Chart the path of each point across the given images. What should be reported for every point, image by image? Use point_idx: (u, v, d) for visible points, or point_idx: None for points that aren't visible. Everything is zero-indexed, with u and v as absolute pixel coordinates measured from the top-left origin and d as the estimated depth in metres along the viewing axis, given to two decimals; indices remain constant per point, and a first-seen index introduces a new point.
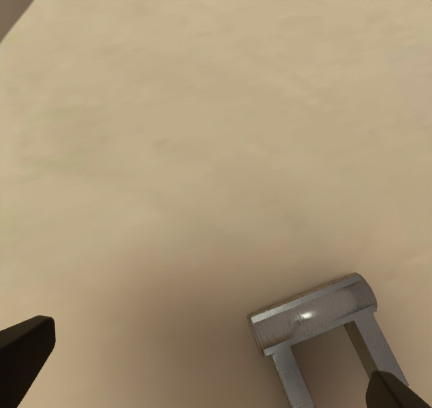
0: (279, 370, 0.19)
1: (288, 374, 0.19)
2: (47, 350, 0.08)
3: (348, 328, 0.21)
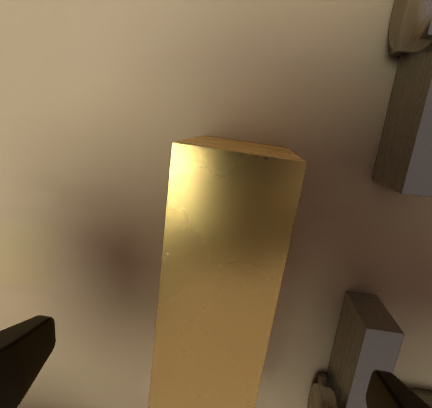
0: None
1: None
2: (47, 350, 0.08)
3: None
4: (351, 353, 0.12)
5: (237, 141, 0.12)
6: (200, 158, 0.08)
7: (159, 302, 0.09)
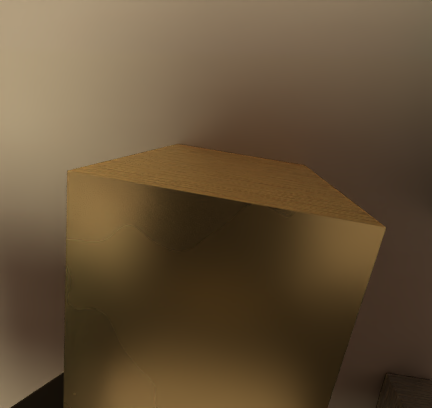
0: None
1: None
2: None
3: None
4: None
5: (228, 154, 0.07)
6: (132, 208, 0.03)
7: None
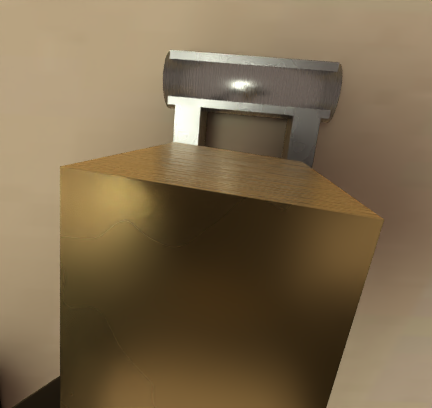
0: (175, 125, 0.15)
1: (183, 134, 0.15)
2: None
3: (286, 130, 0.17)
4: None
5: (225, 152, 0.07)
6: (126, 204, 0.03)
7: None
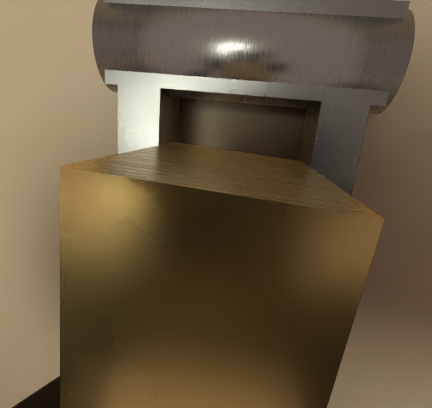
0: (120, 121, 0.09)
1: (133, 135, 0.09)
2: None
3: (304, 128, 0.10)
4: None
5: (225, 152, 0.07)
6: (127, 203, 0.03)
7: None
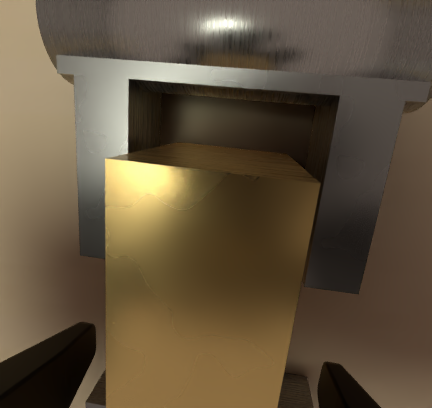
0: (78, 121, 0.07)
1: (95, 140, 0.07)
2: (89, 357, 0.08)
3: (314, 130, 0.08)
4: None
5: (221, 148, 0.09)
6: (150, 182, 0.05)
7: (107, 390, 0.06)
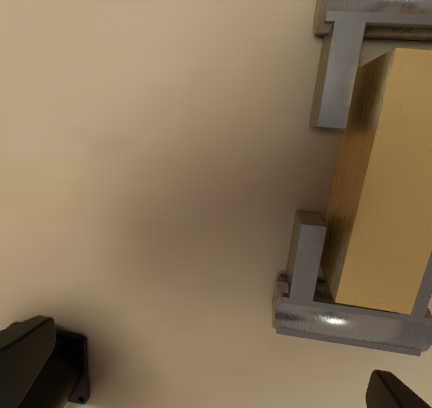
0: (332, 47, 0.13)
1: (340, 57, 0.13)
2: (47, 350, 0.08)
3: None
4: (295, 247, 0.17)
5: None
6: (415, 57, 0.11)
7: (368, 171, 0.12)
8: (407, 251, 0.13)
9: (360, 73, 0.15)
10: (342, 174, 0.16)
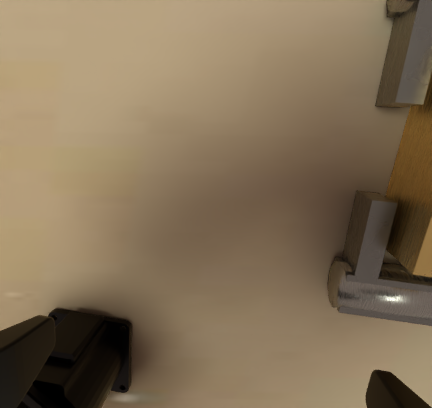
0: (416, 23, 0.14)
1: (423, 33, 0.14)
2: (47, 350, 0.08)
3: None
4: (361, 225, 0.17)
5: None
6: None
7: None
8: None
9: None
10: (412, 151, 0.16)
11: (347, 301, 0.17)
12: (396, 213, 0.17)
